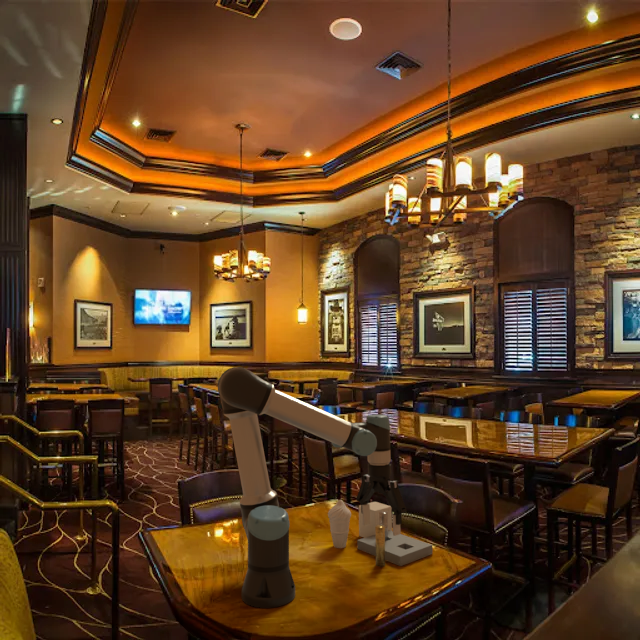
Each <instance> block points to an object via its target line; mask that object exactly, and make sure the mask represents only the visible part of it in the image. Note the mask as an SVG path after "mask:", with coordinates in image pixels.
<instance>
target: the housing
mask: <svg viewBox="0 0 640 640" xmlns="http://www.w3.org/2000/svg"><path fill="white" fill-rule="evenodd" d="M367 504H370V524H367V525H363V515H362V512H361V504H360V505H358V535H359V537H362V538H366V537H369V536H372V535H375V526H377V525H379V512H381V511H385V512H388V530H390V531H393V518H392V514H393V513H392V511H393V510H392V508H391V506H390V505H389V504H388V505H387V504H385V503H381V502H378V501H372V502H369V503H367Z"/></svg>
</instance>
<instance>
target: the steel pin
mask: <svg viewBox="0 0 640 640" xmlns="http://www.w3.org/2000/svg"><path fill="white" fill-rule="evenodd" d="M379 525H382V526H385V541H387V540H388V512H385V511H381V512H379Z"/></svg>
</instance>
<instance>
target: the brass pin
mask: <svg viewBox="0 0 640 640" xmlns="http://www.w3.org/2000/svg"><path fill="white" fill-rule="evenodd" d="M375 534H376V556H375V566H377V567H380V568H381V567H385V566H386V560H385V526H382V525H377V526H375Z"/></svg>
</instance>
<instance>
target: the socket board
mask: <svg viewBox="0 0 640 640" xmlns="http://www.w3.org/2000/svg"><path fill="white" fill-rule="evenodd" d="M356 542H357V544H356V545H357V549H358V550H360V551H361V552H365V553H367V554H369V555H372V556H374V557H376V534H375V535H372V536H369V537H366V538H364V537H362V538H360V539H357V541H356ZM433 554H434V553H433V544H431V543H428V542H425V541H422V540H420V539H416V538H413V537H411V536H407V535H404V534H402V533H401V534H399V535H396V536H394V535H393V530H392V531H390V530H388V540H387V541H385V562H389V563H392V564H394V565H397V566H400V567H402V566H405V565H407V564H410V563H412V562H416V561H419V560H421V559H423V558H425V557H426V558H427V557H428V556H431V555H433Z"/></svg>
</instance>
